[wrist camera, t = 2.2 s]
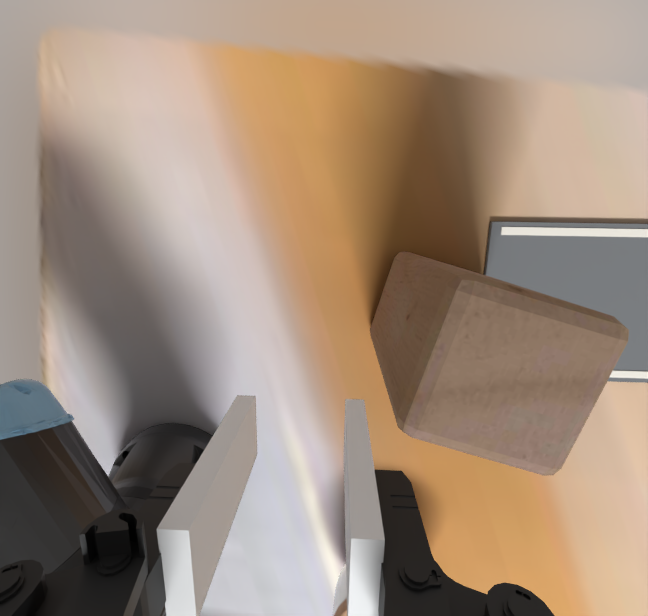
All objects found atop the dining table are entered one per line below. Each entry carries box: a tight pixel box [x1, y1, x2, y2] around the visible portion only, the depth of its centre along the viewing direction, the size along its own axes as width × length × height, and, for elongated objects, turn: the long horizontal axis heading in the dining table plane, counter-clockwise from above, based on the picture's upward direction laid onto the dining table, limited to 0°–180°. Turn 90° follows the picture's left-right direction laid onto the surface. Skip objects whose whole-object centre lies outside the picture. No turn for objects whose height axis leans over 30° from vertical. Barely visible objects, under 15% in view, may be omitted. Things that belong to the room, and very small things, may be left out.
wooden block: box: [370, 251, 629, 475], centre depth 28 cm, size 10×10×20 cm
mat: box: [484, 222, 648, 382], centre depth 37 cm, size 22×17×1 cm
